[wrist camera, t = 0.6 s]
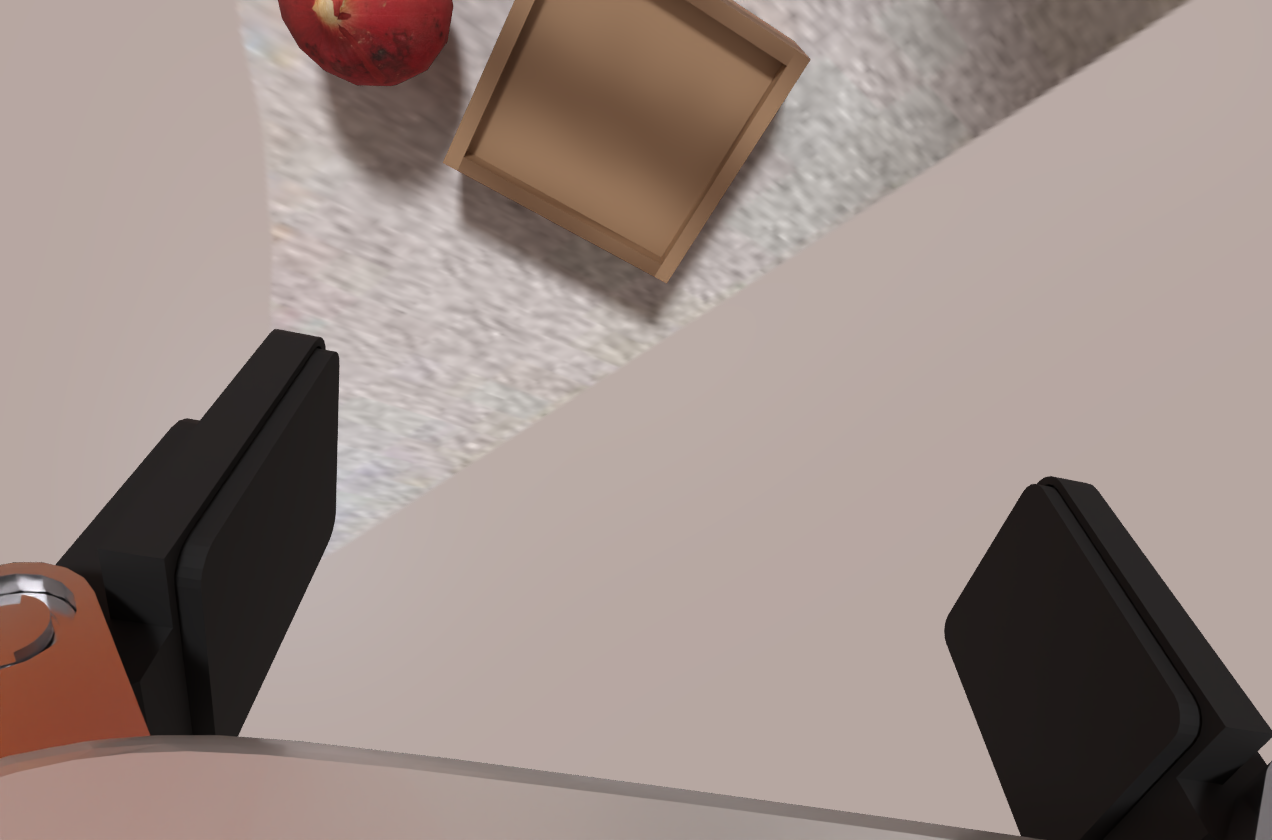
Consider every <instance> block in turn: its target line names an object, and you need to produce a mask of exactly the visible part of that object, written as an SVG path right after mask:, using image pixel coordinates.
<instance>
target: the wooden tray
mask: <svg viewBox="0 0 1272 840" xmlns="http://www.w3.org/2000/svg"><path fill="white" fill-rule="evenodd" d="M809 61H810V58H809V57H808V56H807V55H806V54H805V53H804V52H803V50H802V49H801V48H800V47H799V46H798V45H797V44H796V43H795V41H793V40H792V39H790V38H789V37H787V36H786V35H784V34H783V33H781V32H780V31H778V30H777V29H775V28H774V27H772V26H770V25H769V24H767V23H766V22H764V21H763V20H761V19H760V18H758V17H757V16H755V15H754V14H752V13H751V12H749V11H748V10H746V9H745V8H743V7H742V6H740V5H739V4H737V3H736V2H734V1H733V0H515V1H514V3H513V5H512V8H511V10H510V12H509V14H508V17H507V19H506V21H505V24H504V26H503V28H502V30H501V33H500V35H499V37H498V39H497V42H496V44H495V46H494V48H493V51H492V53H491V55H490V57H489V60H488V62H487V64H486V66H485V69H484V71H483V73H482V75H481V78H480V80H479V82H478V84H477V87H476V89H475V91H474V94H473V96H472V98H471V100H470V103H469V105H468V107H467V109H466V112H465V114H464V116H463V118H462V121H461V123H460V125H459V127H458V130H457V132H456V134H455V136H454V139H453V141H452V143H451V145H450V148H449V150H448V152H447V155H446V157H445V159H444V161H443V163H444V164H446V165H448V166H450V167H452V168H453V169H455V170H457V171H459V172H461V173H463V174H465V175H466V176H468V177H470V178H472V179H474V180H476V181H478V182H479V183H481V184H483V185H485V186H487V187H489V188H491V189H492V190H494V191H496V192H498V193H500V194H502V195H504V196H505V197H507V198H509V199H511V200H513V201H515V202H517V203H518V204H520V205H522V206H524V207H526V208H528V209H530V210H531V211H533V212H535V213H537V214H539V215H541V216H543V217H544V218H546V219H548V220H550V221H552V222H554V223H555V224H557V225H559V226H561V227H563V228H565V229H567V230H568V231H570V232H572V233H574V234H576V235H578V236H580V237H581V238H583V239H585V240H587V241H589V242H591V243H593V244H594V245H596V246H598V247H600V248H602V249H604V250H606V251H607V252H609V253H611V254H613V255H615V256H617V257H619V258H620V259H622V260H624V261H626V262H628V263H630V264H632V265H633V266H635V267H637V268H639V269H641V270H643V271H645V272H646V273H648V274H650V275H652V276H654V277H656V278H658V279H659V280H661V281H663V282H665V283H667V282H668V281H669V279H670V277H671V276H672V274H673V273H674V271H675V270H676V268H677V267H678V265H679V263H680V262H681V260H682V259H683V257H684V256H685V254H686V253H687V251H688V249H689V248H690V246H691V245H692V243H693V242H694V240H695V239H696V237H697V235H698V234H699V232H700V231H701V229H702V228H703V226H704V225H705V223H706V221H707V220H708V218H709V217H710V215H711V214H712V212H713V210H714V209H715V207H716V206H717V204H718V203H719V201H720V200H721V198H722V196H723V195H724V193H725V192H726V190H727V189H728V187H729V186H730V184H731V182H732V181H733V179H734V178H735V176H736V175H737V173H738V172H739V170H740V168H741V167H742V165H743V164H744V162H745V161H746V159H747V158H748V156H749V154H750V153H751V151H752V150H753V148H754V147H755V145H756V144H757V142H758V140H759V139H760V137H761V136H762V134H763V133H764V131H765V130H766V128H767V126H768V125H769V123H770V122H771V120H772V119H773V117H774V116H775V114H776V112H777V111H778V109H779V108H780V106H781V105H782V103H783V102H784V100H785V98H786V97H787V95H788V94H789V92H790V91H791V89H792V88H793V86H794V84H795V83H796V81H797V80H798V78H799V77H800V75H801V73H802V72H803V70H804V69H805V67H806V66H807V64H808V63H809Z"/></svg>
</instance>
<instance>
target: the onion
mask: <svg viewBox="0 0 1272 840" xmlns="http://www.w3.org/2000/svg"><path fill="white" fill-rule="evenodd" d="M278 2H279V7H280V11H281V16H282V19H283V21H284V22H285V24H286V26H287V28H288V29H289V31H290V33H291V34H292V36H293V38H294V39H295V41H296V43H297V45H298V46H299V48H300V49H301V50H302V51H304V52H305V53H306V54H307V55H308V56H309V57H310V58H311V59H312V60H313V61H315V62H316V63H317V64H318V65H319V66H320V67H321V68H322V69H323V70H325V71H326V72H329V73H331V74H333V75H335V76H338V77H340V78H342V79H344V80H346V81H349V82H351V83H353V84H355V85H368V86H393V85H397V84H399V83H402V82H404V81H406V80H408V79H410V78H412V77H414V76H416V75H418V74H420V73H422V72H424V71H426V70H427V69H428V68H429V67H430V65H431V64H432V62H433V61H434V60H435V58H436V57H437V55H438V54H439V53H440V51H441V50H442V48H443V47H444V46H445V44H446V43H447V40H448V34H449V28H450V23H451V17H452V11H453V2H452V0H278Z"/></svg>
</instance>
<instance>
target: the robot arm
mask: <svg viewBox="0 0 1272 840" xmlns="http://www.w3.org/2000/svg"><path fill="white" fill-rule="evenodd" d="M338 399H339V356H338V353H337V352H334V351H328V350H326V349H325V343H324V340H323V339H322V338H321V337H316V336H311V335H306V334H300V333H295V332H290V331H284V330H279V329H274V330H273V331H272V332H271V333H270V334H269V335H268V336H267V338H266V339H265V340H264V341H263V343H262V344H261V345H260V347H259V348H258V349H257V350H256V352H255V353H254V354H253V355H252V356H251V358H250V359H249V360H248V361H247V363H246V364H245V365H244V366H243V368H242V369H241V370H240V371H239V373H238V374H237V375H236V376H235V378H234V379H233V380H232V381H231V383H230V384H229V385H228V386H227V388H226V389H225V390H224V392H222V394H221V395H220V396H219V398H218V399H217V400H216V401H215V402H214V404H213V405H212V406H211V408H210V409H209V410H208V411H207V413H206V414H205V415H204V416H203V417H202V419H201V420H200V421H199V420H193V419H183V420H180V421H178V422H177V423H176V424H175V425H174V426H173V427H171V429H170V430H169V431H168V432H167V433H166V434H165V436H164V437H163V438H162V439H161V440H160V442H159V443H158V444H157V445H156V446H155V448H154V449H153V450H152V451H151V452H150V453H149V455H148V456H147V457H146V458H145V459H144V460H143V462H142V463H141V464H140V465H139V467H138V468H137V469H136V470H135V471H134V472H133V474H132V475H131V476H130V477H129V478H128V479H127V481H126V482H125V483H124V484H123V485H122V487H121V488H120V489H119V490H118V491H117V493H116V494H115V495H114V496H113V498H111V500H110V501H109V502H108V503H107V504H106V506H105V507H104V508H103V509H102V510H101V512H100V513H99V514H98V515H97V516H96V517H95V519H94V520H93V521H92V522H91V523H90V525H89V526H88V527H87V528H86V529H85V530H84V532H83V533H82V534H81V535H80V536H79V538H78V539H77V540H76V541H75V542H74V544H73V545H72V546H71V547H70V548H69V549H68V551H67V552H66V553H65V554H64V555H63V556H62V558H61V559H60V560H59V561H58V562H57V564H56V565H52V564H47V563H42V562H14V563H8V564H3V565H0V840H1272V761H1271V762H1270V763H1269V764H1268V765H1267V764H1266V763H1265V761H1264V760H1263V759H1262V757H1261V756H1260V754H1259V753H1258V750H1259V749H1260V748H1261V747H1262V746H1263V745H1265V744H1266V743H1267V742H1268V741H1269V740H1270V738H1272V730H1271V729H1270V727H1269V726H1268V724H1267V723H1266V722H1265V720H1264V719H1263V718H1262V716H1261V715H1260V713H1259V712H1258V711H1257V709H1256V708H1255V706H1254V705H1253V704H1252V702H1251V701H1250V699H1249V698H1248V697H1247V695H1246V694H1245V693H1244V691H1243V690H1242V689H1241V687H1240V686H1239V684H1238V683H1237V682H1236V680H1235V679H1234V678H1233V676H1232V675H1231V673H1230V672H1229V671H1228V669H1227V668H1226V666H1225V665H1224V664H1223V662H1222V661H1221V660H1220V658H1219V657H1218V655H1217V654H1216V653H1215V651H1214V650H1213V649H1212V647H1211V646H1210V644H1209V643H1208V642H1207V640H1206V639H1205V638H1204V636H1203V635H1202V634H1201V632H1200V631H1199V629H1198V628H1197V626H1196V625H1195V624H1194V622H1193V621H1192V620H1191V618H1190V617H1189V616H1188V614H1187V613H1186V611H1185V610H1184V609H1183V607H1182V606H1181V604H1180V603H1179V602H1178V600H1177V599H1176V598H1175V596H1174V595H1173V593H1172V592H1171V591H1170V590H1169V588H1168V587H1167V585H1166V584H1165V582H1164V581H1163V580H1162V579H1161V577H1160V575H1159V574H1158V573H1157V571H1156V570H1155V569H1154V567H1153V566H1152V564H1151V563H1150V562H1149V560H1148V559H1147V558H1146V556H1145V555H1144V553H1143V552H1142V551H1141V549H1140V548H1139V547H1138V545H1137V544H1136V543H1135V541H1134V540H1133V538H1132V537H1131V536H1130V534H1129V533H1128V531H1127V530H1126V529H1125V527H1124V526H1123V525H1122V523H1121V522H1120V520H1119V519H1118V518H1117V516H1116V515H1115V513H1114V512H1113V511H1112V509H1111V508H1110V507H1109V505H1108V504H1107V502H1106V501H1105V500H1104V498H1103V497H1102V496H1101V494H1100V493H1099V491H1098V490H1097V489H1096V488H1095V487H1094V486H1093V485H1091V484H1087V483H1083V482H1078V481H1072V480H1068V479H1062V478H1057V477H1052V476H1050V477H1045V478H1043V479H1042V480H1040V481H1039V482H1038V483H1037V484H1032V485H1030V486H1028V487H1027V488H1026V489H1025V490H1024V491H1023V493H1022V495H1021V496H1020V498H1019V499H1018V501H1017V503H1016V504H1015V506H1014V508H1013V509H1012V511H1011V513H1010V514H1009V516H1008V518H1007V519H1006V521H1005V522H1004V524H1003V526H1002V527H1001V529H1000V531H999V532H998V534H997V536H996V537H995V539H994V541H993V542H992V544H991V546H990V547H989V549H988V550H987V552H986V554H985V555H984V557H983V559H982V560H981V562H980V564H979V565H978V567H977V568H976V570H975V572H974V574H973V575H972V577H971V578H970V580H969V582H968V583H967V585H966V587H965V588H964V590H963V592H962V593H961V595H960V597H959V598H958V600H957V602H956V603H955V605H954V606H953V608H952V610H951V612H950V613H949V615H948V617H947V619H946V623H945V630H944V632H945V640H946V644H947V646H948V649H949V652H950V654H951V657H952V659H953V662H954V664H955V667H956V670H957V672H958V675H959V677H960V680H961V683H962V685H963V687H964V690H965V693H966V695H967V698H968V701H969V703H970V706H971V708H972V711H973V713H974V716H975V718H976V721H977V724H978V726H979V729H980V731H981V734H982V736H983V739H984V742H985V744H986V747H987V749H988V752H989V755H990V757H991V760H992V762H993V765H994V767H995V770H996V773H997V775H998V778H999V780H1000V783H1001V786H1002V788H1003V791H1004V793H1005V796H1006V798H1007V801H1008V804H1009V806H1010V809H1011V811H1012V814H1013V817H1014V819H1015V822H1016V824H1017V827H1018V829H1019V832H1020V835H1021V836H1014V835H1007V834H1000V833H994V832H987V831H980V830H973V829H965V828H959V827H951V826H944V825H938V824H930V823H924V822H917V821H909V820H902V819H895V818H888V817H881V816H873V815H866V814H859V813H851V812H844V811H837V810H830V809H823V808H815V807H808V806H801V805H793V804H786V803H779V802H772V801H765V800H757V799H750V798H743V797H735V796H728V795H721V794H713V793H706V792H699V791H691V790H684V789H676V788H669V787H662V786H654V785H647V784H639V783H631V782H624V781H616V780H609V779H601V778H594V777H586V776H579V775H571V774H563V773H556V772H548V771H540V770H532V769H525V768H518V767H510V766H503V765H495V764H488V763H480V762H472V761H464V760H457V759H450V758H441V757H431V756H424V755H415V754H406V753H398V752H389V751H380V750H372V749H362V748H355V747H346V746H337V745H327V744H319V743H311V742H303V741H290V740H277V739H263V738H249V737H238V735H239V733H240V731H241V728H242V726H243V724H244V722H245V720H246V718H247V715H248V713H249V711H250V709H251V707H252V705H253V703H254V701H255V698H256V696H257V694H258V692H259V690H260V688H261V685H262V683H263V681H264V679H265V677H266V675H267V673H268V671H269V669H270V666H271V664H272V662H273V660H274V658H275V655H276V653H277V651H278V649H279V647H280V645H281V643H282V641H283V639H284V636H285V634H286V632H287V630H288V628H289V626H290V624H291V622H292V619H293V617H294V615H295V613H296V611H297V609H298V606H299V604H300V602H301V600H302V598H303V596H304V594H305V592H306V589H307V587H308V585H309V583H310V581H311V579H312V576H313V575H314V572H315V570H316V568H317V566H318V564H319V562H320V560H321V557H322V555H323V553H324V551H325V549H326V547H327V545H328V542H329V540H330V537H331V534H332V531H333V527H334V522H335V515H336V482H337V440H338Z"/></svg>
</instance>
